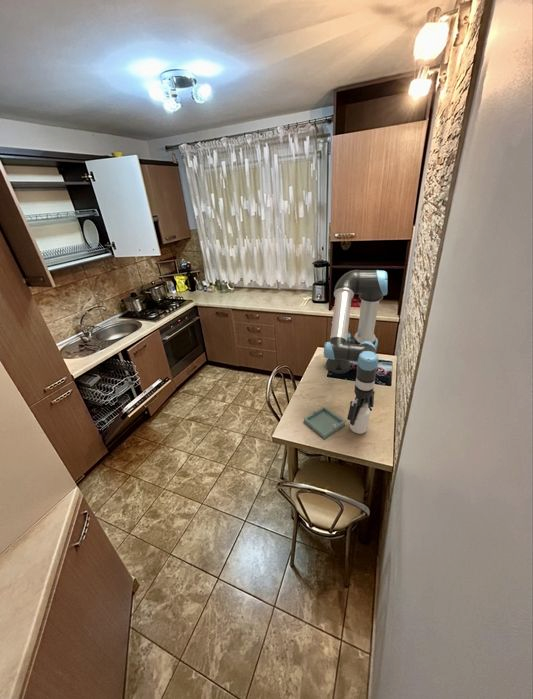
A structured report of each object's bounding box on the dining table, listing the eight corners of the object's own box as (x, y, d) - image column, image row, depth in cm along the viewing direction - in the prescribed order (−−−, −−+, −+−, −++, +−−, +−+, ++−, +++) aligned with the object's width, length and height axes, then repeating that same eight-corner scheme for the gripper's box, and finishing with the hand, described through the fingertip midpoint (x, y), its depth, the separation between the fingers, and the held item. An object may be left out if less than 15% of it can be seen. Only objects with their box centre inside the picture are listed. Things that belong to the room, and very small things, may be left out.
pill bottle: (357, 436, 126) (360, 412, 118) (345, 424, 132) (348, 401, 124) (371, 430, 128) (375, 406, 120) (359, 419, 135) (362, 395, 127)
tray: (323, 409, 144) (324, 402, 142) (345, 425, 134) (346, 418, 131) (303, 422, 137) (303, 415, 135) (324, 439, 127) (325, 432, 125)
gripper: (372, 372, 125) (366, 409, 136) (340, 391, 115) (337, 430, 127) (387, 380, 119) (379, 418, 131) (355, 401, 110) (350, 440, 121)
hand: (358, 424), depth 129 cm, fingers closed on pill bottle, 8 cm apart
